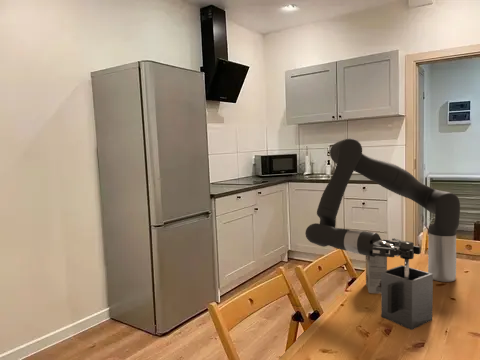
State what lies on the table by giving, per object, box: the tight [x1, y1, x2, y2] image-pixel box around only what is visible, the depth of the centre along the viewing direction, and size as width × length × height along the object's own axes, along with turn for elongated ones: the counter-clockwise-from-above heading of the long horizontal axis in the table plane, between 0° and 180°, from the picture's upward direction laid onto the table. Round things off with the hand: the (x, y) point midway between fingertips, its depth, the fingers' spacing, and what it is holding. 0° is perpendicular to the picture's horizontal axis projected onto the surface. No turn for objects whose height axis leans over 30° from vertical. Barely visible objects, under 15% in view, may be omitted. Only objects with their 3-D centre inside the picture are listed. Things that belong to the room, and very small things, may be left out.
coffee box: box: [365, 255, 388, 294], centre depth 134 cm, size 9×6×16 cm
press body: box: [380, 264, 434, 331], centre depth 110 cm, size 13×10×14 cm
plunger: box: [399, 240, 415, 280], centre depth 111 cm, size 8×8×21 cm
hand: (416, 252), depth 108 cm, fingers open, 4 cm apart
